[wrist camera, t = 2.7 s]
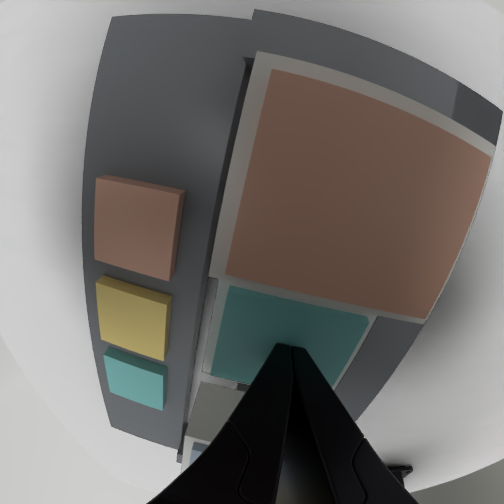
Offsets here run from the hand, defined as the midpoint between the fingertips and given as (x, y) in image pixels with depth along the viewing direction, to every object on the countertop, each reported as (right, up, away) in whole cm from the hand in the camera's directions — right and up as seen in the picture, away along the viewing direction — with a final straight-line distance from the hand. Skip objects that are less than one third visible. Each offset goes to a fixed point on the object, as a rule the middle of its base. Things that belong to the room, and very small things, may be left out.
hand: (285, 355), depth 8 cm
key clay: (+1, +5, 0) cm, 5 cm away
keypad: (-1, 0, +5) cm, 5 cm away
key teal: (0, +2, +4) cm, 4 cm away
